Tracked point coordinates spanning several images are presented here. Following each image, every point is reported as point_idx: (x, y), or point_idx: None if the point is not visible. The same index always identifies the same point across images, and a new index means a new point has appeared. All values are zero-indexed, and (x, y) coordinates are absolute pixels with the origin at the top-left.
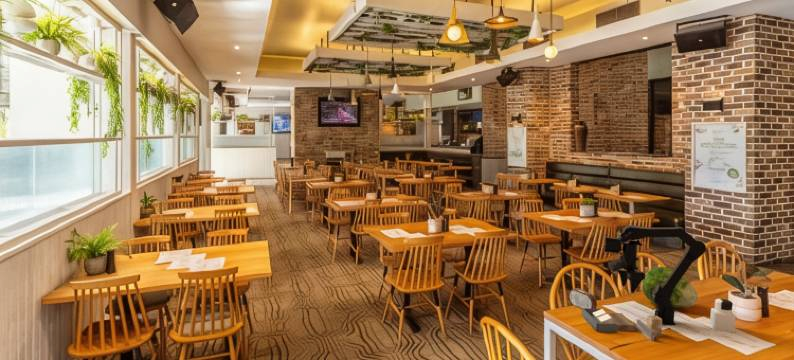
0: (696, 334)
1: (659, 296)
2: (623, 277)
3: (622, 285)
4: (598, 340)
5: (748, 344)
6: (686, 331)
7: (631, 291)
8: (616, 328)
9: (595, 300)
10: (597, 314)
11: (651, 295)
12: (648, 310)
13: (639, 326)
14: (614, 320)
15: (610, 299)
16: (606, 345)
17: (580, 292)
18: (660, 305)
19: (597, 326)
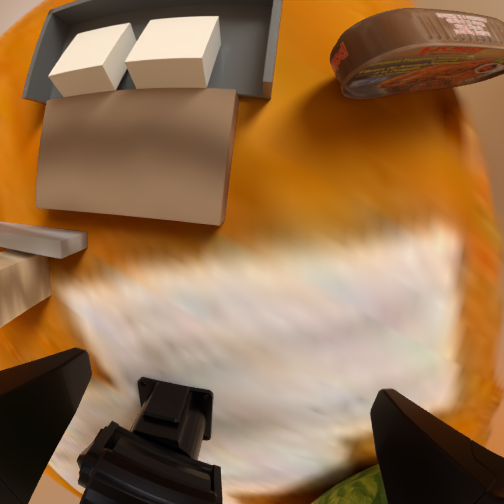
0: (75, 417)
1: (87, 478)
2: (430, 493)
3: (383, 393)
4: (18, 28)
5: (55, 459)
6: (91, 411)
7: (64, 352)
8: (36, 100)
9: (357, 65)
10: (163, 27)
11: (379, 481)
12: (335, 422)
13: (48, 232)
14: (94, 112)
15: (496, 317)
16: None
17: (453, 11)
18: (98, 437)
19: (56, 18)
